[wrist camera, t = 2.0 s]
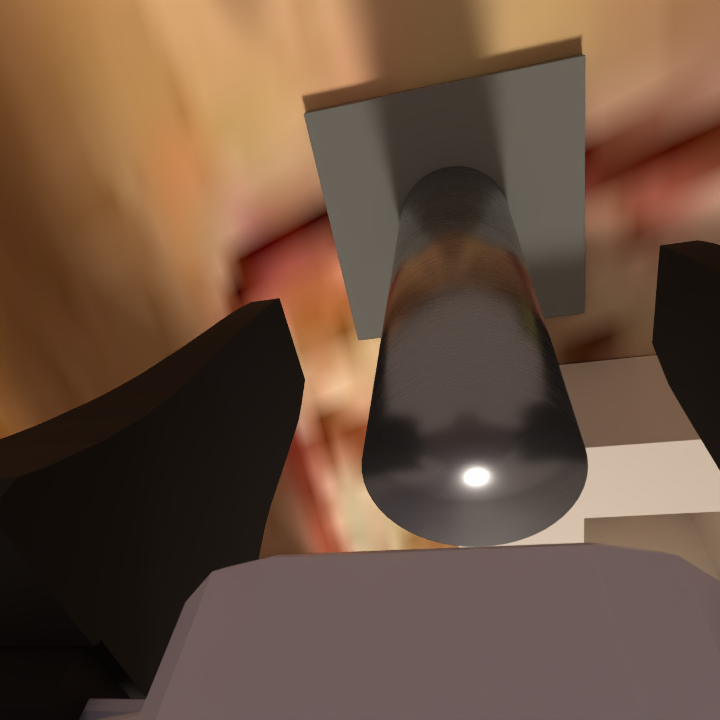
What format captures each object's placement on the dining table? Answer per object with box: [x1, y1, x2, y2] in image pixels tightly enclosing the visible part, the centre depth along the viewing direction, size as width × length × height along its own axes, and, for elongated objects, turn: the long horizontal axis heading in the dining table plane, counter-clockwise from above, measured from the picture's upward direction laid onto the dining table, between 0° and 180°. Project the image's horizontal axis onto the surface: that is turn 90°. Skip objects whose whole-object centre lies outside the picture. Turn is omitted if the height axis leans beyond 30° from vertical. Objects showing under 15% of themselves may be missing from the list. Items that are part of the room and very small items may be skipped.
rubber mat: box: [304, 54, 585, 340], centre depth 16 cm, size 7×7×1 cm
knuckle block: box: [459, 355, 720, 581], centre depth 19 cm, size 12×10×4 cm
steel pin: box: [362, 166, 588, 547], centre depth 12 cm, size 3×3×10 cm
